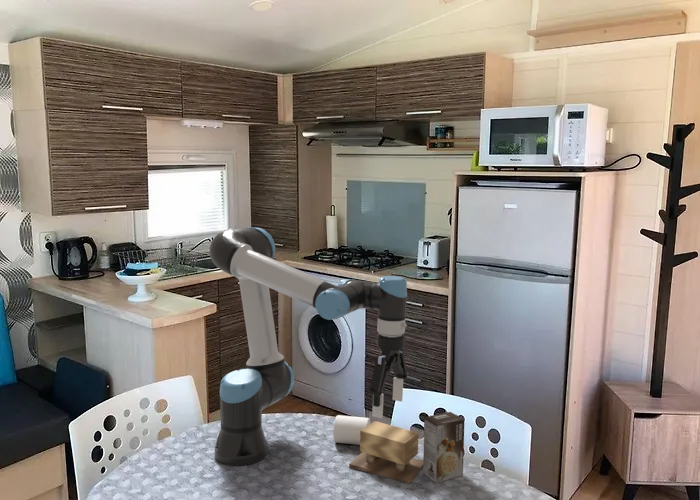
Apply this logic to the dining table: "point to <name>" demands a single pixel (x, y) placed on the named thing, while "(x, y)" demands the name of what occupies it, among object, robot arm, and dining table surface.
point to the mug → (349, 429)
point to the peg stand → (387, 467)
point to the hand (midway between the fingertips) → (387, 408)
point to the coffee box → (443, 446)
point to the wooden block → (389, 442)
